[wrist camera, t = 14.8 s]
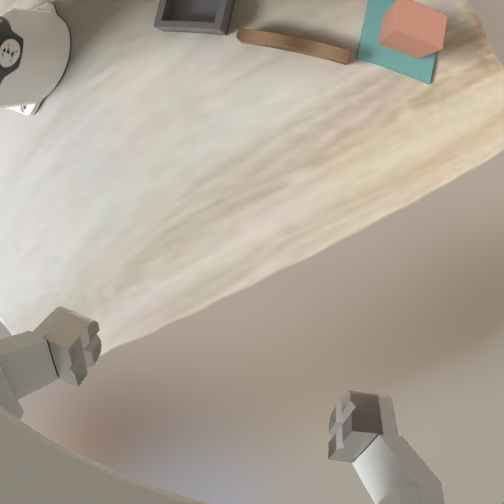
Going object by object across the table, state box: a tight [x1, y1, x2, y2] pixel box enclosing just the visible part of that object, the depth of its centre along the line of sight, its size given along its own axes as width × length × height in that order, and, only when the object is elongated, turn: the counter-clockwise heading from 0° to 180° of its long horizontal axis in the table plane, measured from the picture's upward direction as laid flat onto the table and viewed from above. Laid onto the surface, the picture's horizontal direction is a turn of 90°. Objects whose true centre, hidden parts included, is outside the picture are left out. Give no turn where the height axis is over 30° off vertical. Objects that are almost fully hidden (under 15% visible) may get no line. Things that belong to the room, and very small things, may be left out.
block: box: [378, 0, 447, 58], centre depth 24 cm, size 5×4×8 cm
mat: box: [357, 0, 436, 84], centre depth 27 cm, size 9×9×1 cm
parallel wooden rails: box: [236, 28, 351, 65], centre depth 27 cm, size 12×11×3 cm
